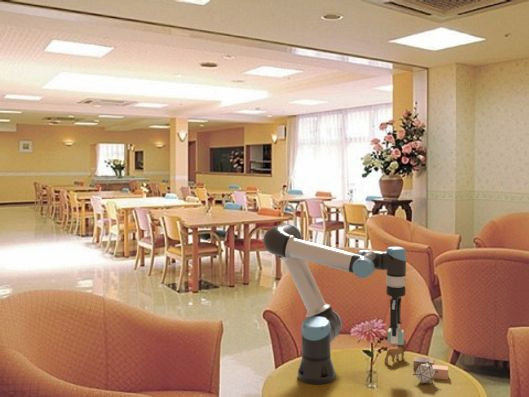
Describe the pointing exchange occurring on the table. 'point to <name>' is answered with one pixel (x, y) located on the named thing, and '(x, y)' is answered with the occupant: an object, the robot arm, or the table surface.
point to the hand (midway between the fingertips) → (395, 341)
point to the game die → (425, 373)
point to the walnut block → (422, 362)
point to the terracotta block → (441, 371)
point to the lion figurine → (396, 352)
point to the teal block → (400, 337)
